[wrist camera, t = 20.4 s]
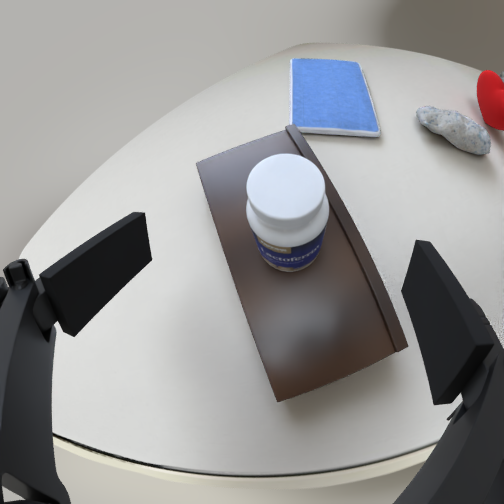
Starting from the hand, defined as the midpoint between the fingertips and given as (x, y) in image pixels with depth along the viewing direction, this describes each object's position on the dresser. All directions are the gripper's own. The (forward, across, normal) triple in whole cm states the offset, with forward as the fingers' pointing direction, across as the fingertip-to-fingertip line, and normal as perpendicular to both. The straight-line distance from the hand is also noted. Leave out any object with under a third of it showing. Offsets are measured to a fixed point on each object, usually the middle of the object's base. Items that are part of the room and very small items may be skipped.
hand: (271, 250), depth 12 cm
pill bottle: (+12, 0, -5) cm, 13 cm away
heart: (+36, +34, +13) cm, 51 cm away
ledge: (+15, 0, -8) cm, 17 cm away
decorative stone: (+30, +23, +7) cm, 39 cm away
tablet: (+34, +4, +11) cm, 36 cm away
